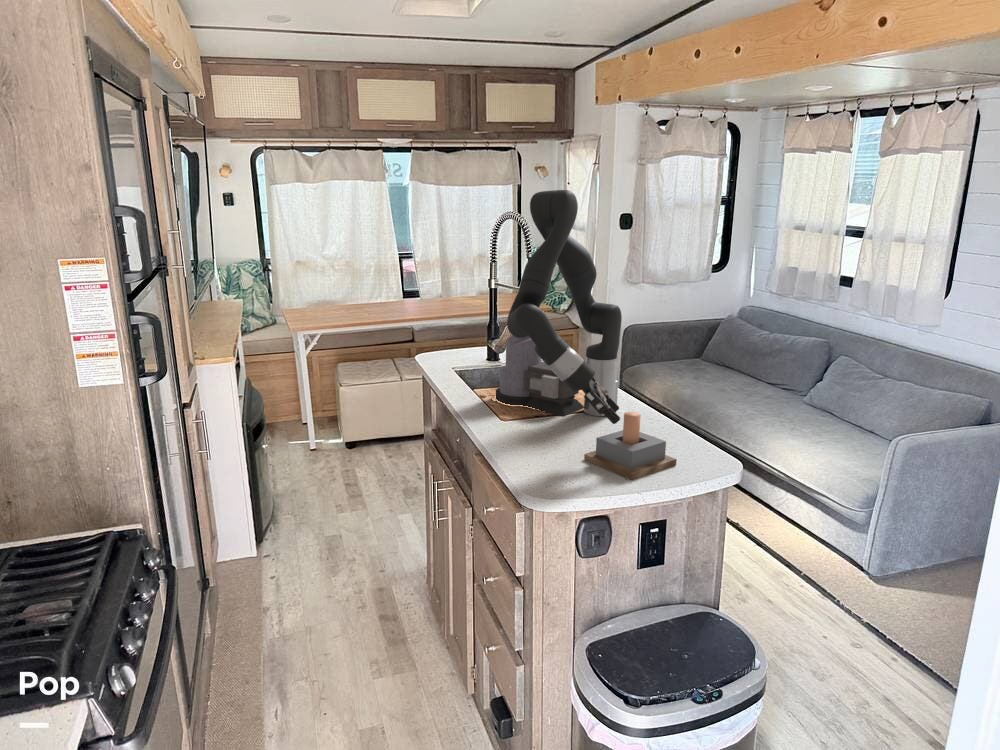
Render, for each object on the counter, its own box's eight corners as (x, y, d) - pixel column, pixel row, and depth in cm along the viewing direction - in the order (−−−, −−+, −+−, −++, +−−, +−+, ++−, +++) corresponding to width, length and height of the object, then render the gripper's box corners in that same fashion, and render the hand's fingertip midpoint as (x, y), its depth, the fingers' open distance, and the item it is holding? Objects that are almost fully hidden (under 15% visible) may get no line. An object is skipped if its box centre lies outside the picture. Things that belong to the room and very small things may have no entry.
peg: (629, 452, 181) (631, 410, 178) (641, 457, 177) (644, 414, 175) (618, 455, 178) (620, 413, 175) (630, 460, 175) (632, 417, 172)
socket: (628, 444, 186) (629, 428, 185) (664, 458, 177) (666, 441, 176) (595, 454, 179) (596, 437, 178) (631, 469, 170) (632, 451, 169)
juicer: (482, 400, 229) (482, 325, 223) (512, 389, 242) (512, 318, 235) (560, 418, 212) (562, 337, 205) (588, 406, 224) (591, 329, 218)
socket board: (628, 446, 189) (628, 441, 189) (676, 464, 177) (676, 459, 176) (584, 459, 180) (584, 453, 179) (631, 479, 167) (631, 473, 167)
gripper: (582, 366, 166) (629, 415, 168) (583, 352, 180) (627, 397, 182) (558, 387, 168) (605, 435, 170) (561, 371, 182) (605, 416, 184)
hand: (616, 416), depth 176 cm, fingers open, 8 cm apart
